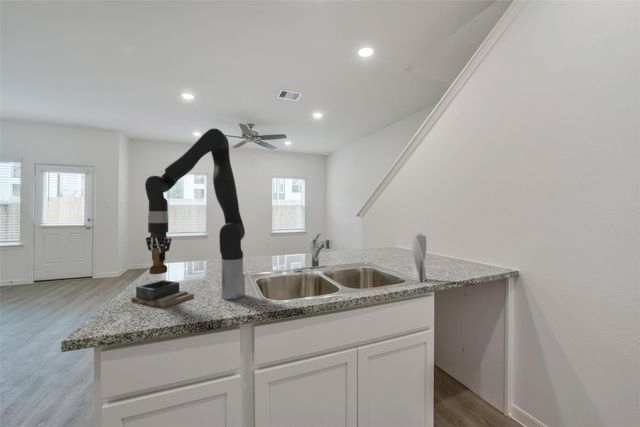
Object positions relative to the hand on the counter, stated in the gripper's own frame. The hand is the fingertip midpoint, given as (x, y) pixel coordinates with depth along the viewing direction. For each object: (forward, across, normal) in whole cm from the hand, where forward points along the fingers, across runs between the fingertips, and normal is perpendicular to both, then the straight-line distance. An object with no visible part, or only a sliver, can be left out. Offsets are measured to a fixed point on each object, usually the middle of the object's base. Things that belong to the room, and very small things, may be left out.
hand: (158, 260), depth 111 cm
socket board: (+17, -3, 0) cm, 17 cm away
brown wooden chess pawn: (+5, 0, 0) cm, 5 cm away
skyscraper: (+17, -105, -79) cm, 132 cm away
